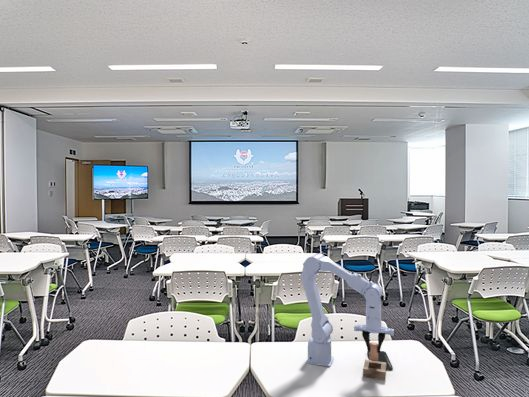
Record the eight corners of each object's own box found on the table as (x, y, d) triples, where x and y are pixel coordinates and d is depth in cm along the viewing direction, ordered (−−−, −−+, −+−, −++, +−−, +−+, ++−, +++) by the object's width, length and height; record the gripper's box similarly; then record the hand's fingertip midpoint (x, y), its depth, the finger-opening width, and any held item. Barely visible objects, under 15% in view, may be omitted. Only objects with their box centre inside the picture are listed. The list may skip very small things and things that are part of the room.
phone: (385, 351, 159) (393, 368, 144) (385, 353, 159) (393, 371, 144) (366, 350, 160) (372, 367, 145) (366, 353, 160) (372, 370, 145)
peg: (369, 360, 141) (369, 345, 141) (369, 356, 144) (369, 341, 144) (377, 361, 140) (378, 346, 140) (378, 358, 143) (378, 342, 143)
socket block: (363, 376, 140) (363, 368, 140) (365, 366, 147) (365, 359, 147) (385, 380, 137) (385, 372, 137) (386, 370, 144) (386, 362, 144)
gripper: (353, 317, 140) (353, 353, 141) (393, 322, 135) (393, 358, 136) (355, 311, 147) (355, 345, 147) (393, 315, 142) (393, 350, 142)
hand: (373, 351), depth 142 cm, fingers closed on peg, 3 cm apart
